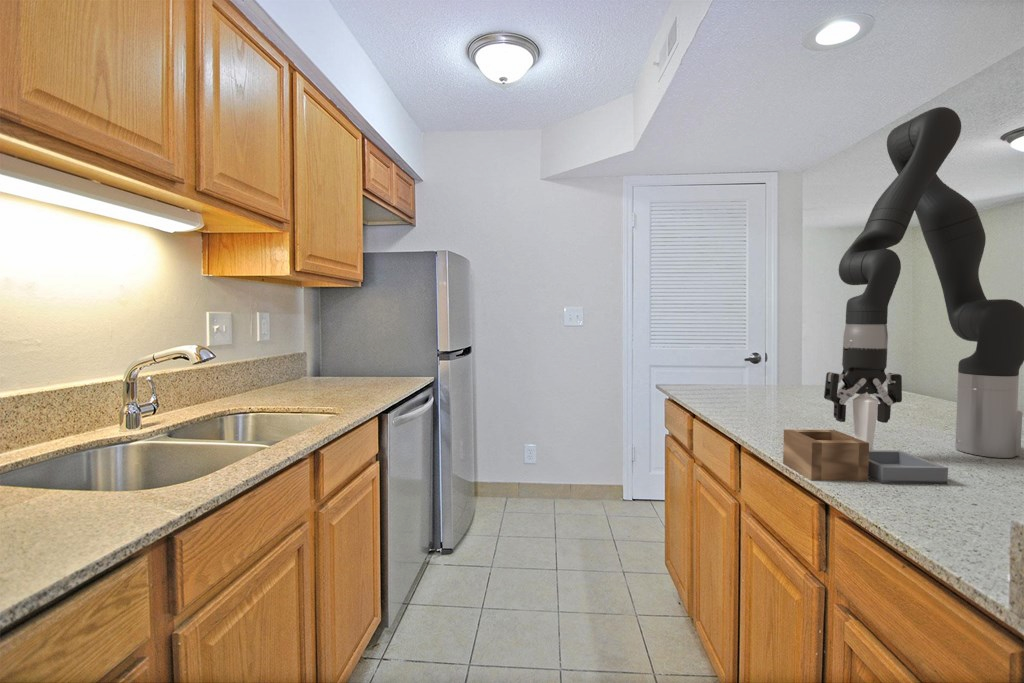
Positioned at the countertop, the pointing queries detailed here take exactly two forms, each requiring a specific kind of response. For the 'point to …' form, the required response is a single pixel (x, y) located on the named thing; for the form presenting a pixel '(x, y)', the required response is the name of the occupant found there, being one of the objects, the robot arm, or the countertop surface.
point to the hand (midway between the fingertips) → (861, 421)
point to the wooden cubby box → (826, 455)
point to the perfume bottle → (865, 418)
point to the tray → (904, 468)
